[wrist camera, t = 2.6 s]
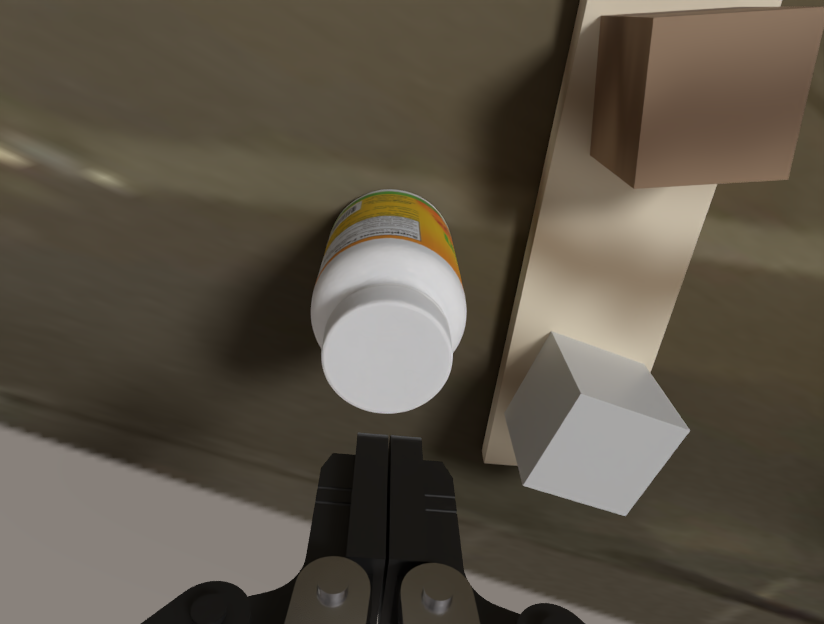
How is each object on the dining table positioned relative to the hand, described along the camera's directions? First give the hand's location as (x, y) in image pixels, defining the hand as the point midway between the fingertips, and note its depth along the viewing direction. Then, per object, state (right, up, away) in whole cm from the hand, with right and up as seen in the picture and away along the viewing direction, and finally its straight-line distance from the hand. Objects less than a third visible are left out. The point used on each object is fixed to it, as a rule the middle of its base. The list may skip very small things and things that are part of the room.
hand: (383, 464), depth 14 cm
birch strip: (+9, +6, +13) cm, 17 cm away
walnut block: (+10, +12, +9) cm, 18 cm away
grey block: (+8, 0, +15) cm, 17 cm away
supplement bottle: (0, +7, +13) cm, 14 cm away
